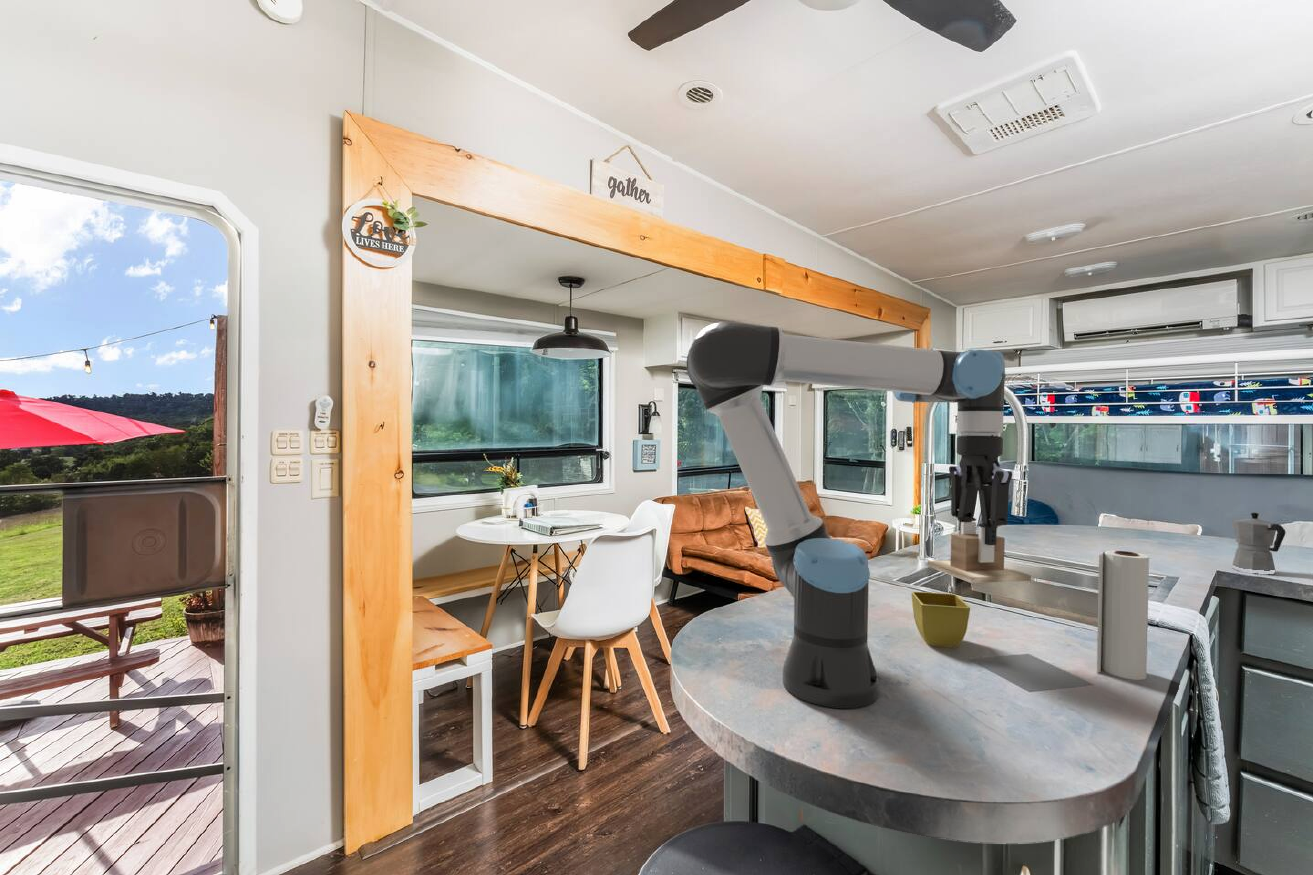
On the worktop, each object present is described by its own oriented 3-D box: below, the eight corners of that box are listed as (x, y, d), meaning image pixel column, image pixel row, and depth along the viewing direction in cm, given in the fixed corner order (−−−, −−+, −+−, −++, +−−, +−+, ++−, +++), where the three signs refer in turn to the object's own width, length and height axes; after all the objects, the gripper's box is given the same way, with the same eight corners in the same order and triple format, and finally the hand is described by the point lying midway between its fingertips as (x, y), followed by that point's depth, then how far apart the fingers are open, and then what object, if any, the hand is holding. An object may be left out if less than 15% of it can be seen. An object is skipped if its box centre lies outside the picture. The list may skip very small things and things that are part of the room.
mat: (1028, 694, 90) (1029, 691, 90) (968, 661, 103) (968, 658, 103) (1094, 687, 93) (1094, 684, 93) (1028, 655, 106) (1028, 653, 106)
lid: (971, 582, 98) (972, 543, 98) (927, 566, 110) (928, 530, 110) (1030, 580, 100) (1031, 541, 100) (981, 564, 112) (982, 529, 112)
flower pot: (970, 654, 106) (971, 607, 106) (921, 650, 108) (921, 604, 108) (955, 637, 115) (956, 593, 115) (910, 633, 117) (910, 591, 116)
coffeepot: (1217, 565, 178) (1218, 509, 178) (1249, 566, 177) (1250, 509, 177) (1265, 578, 163) (1267, 516, 162) (1300, 579, 162) (1302, 517, 162)
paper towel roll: (1142, 671, 99) (1144, 551, 99) (1150, 685, 94) (1153, 558, 93) (1091, 662, 103) (1093, 546, 102) (1096, 675, 97) (1099, 553, 97)
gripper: (1035, 435, 97) (1031, 569, 97) (965, 434, 114) (962, 548, 114) (996, 435, 96) (993, 570, 96) (931, 433, 113) (929, 549, 113)
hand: (976, 558), depth 105 cm, fingers closed on lid, 4 cm apart
